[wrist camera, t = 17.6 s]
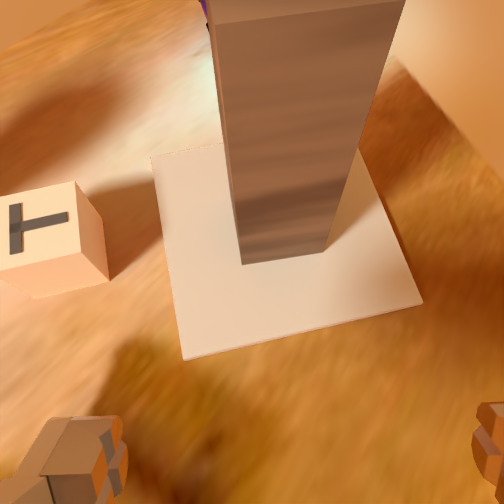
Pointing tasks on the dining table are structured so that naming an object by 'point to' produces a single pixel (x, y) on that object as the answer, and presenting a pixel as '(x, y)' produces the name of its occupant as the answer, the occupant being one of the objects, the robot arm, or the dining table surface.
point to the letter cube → (51, 241)
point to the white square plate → (271, 272)
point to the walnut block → (294, 111)
